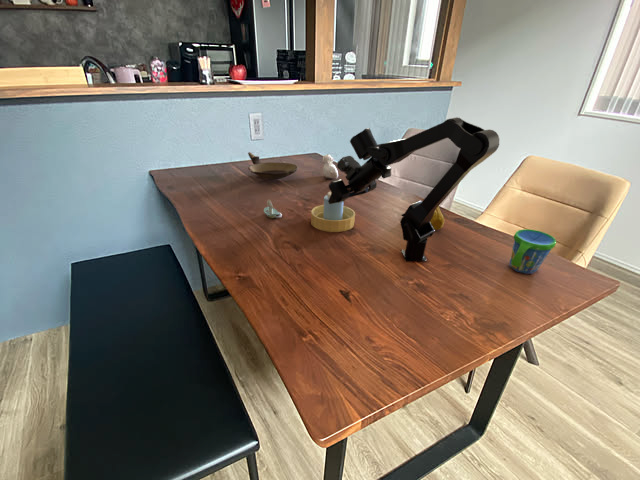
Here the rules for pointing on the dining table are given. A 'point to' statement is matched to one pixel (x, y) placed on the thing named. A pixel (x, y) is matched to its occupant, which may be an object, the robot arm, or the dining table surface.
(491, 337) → the dining table surface
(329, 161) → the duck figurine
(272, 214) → the pacifier
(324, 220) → the bowl
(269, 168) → the oil lamp
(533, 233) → the snack cup
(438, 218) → the food
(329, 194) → the baby bottle
